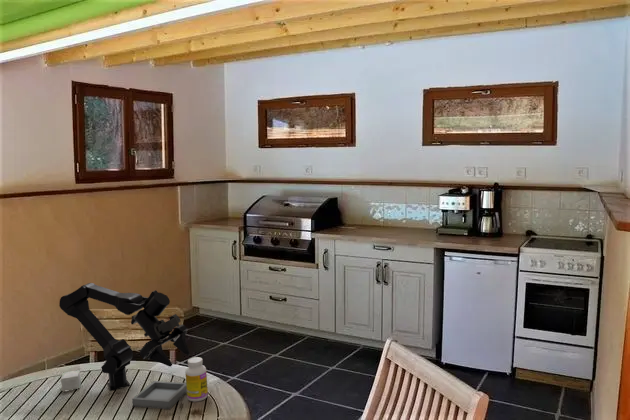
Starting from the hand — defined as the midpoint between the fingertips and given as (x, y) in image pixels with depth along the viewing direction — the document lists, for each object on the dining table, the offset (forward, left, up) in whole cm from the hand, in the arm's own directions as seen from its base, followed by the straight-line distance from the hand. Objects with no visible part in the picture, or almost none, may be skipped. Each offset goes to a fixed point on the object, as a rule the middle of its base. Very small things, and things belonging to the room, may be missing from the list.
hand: (180, 360), depth 173 cm
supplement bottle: (+5, +3, -12) cm, 14 cm away
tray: (-2, -7, -12) cm, 14 cm away
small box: (-30, -31, -12) cm, 45 cm away
